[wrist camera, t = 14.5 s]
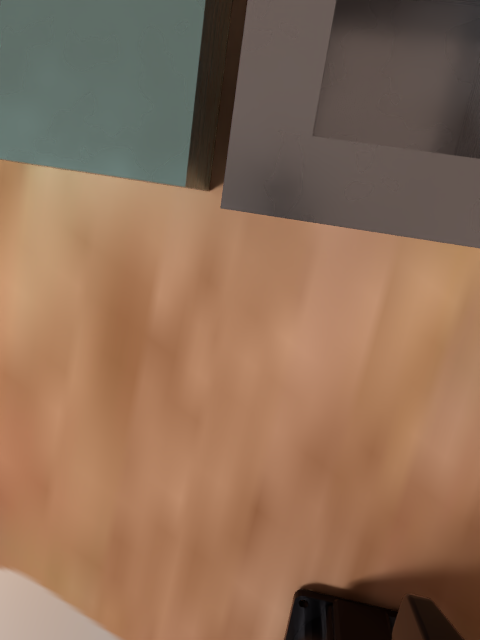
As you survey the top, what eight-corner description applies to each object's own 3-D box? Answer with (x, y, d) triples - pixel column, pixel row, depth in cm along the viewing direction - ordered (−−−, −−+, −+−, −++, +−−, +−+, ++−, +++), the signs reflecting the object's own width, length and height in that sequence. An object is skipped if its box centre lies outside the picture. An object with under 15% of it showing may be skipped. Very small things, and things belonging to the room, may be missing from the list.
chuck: (596, 263, 18) (706, 283, 13) (15, 173, 20) (-76, 162, 15) (701, -27, 15) (891, -140, 10) (18, -91, 17) (-91, -205, 13)
